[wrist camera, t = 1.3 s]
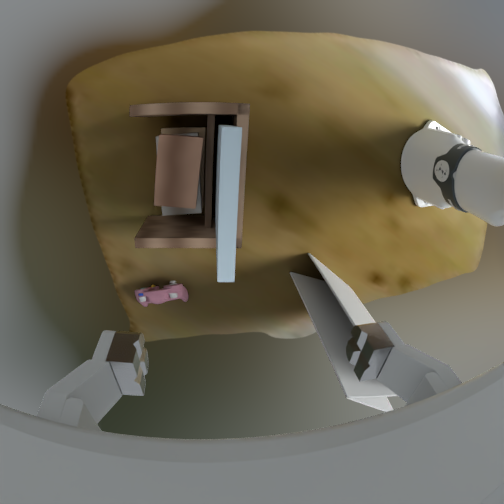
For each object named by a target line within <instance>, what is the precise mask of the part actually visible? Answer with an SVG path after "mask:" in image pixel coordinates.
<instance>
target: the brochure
mask: <svg viewBox="0 0 504 504" xmlns="http://www.w3.org/2000/svg"><path fill="white" fill-rule="evenodd" d="M308 255H309V256H310V258H311V259H312V261H313V262H314V264H315V265H316V267H317V269H318V270H319V272H320V273H321V275H322V276H323V278H324V279H325V281H323V280H319V279H316V278H312V277H308V276H304V275H301V274H297V273H293V272H290V275H291V277H292V279H293V281H294V284H295V286H296V288H297V290H298V292H299V294H300V296H301V299H302V301H303V303H304V305H305V307H306V309H307V312H308V314H309V316H310V318H311V320H312V322H313V325H314V327H315V329H316V331H317V333H318V336H319V338H320V340H321V342H322V344H323V347H324V349H325V351H326V353H327V356H328V358H329V360H330V362H331V364H332V367H333V369H334V371H335V373H336V376H337V378H338V381H339V383H340V385H341V387H342V390H343V392H344V394H345V397H346V398H348V399H350V400H353V401H356V402H358V403H361V404H364V405H367V406H370V407H373V408H376V409H379V410H382V411H385V412H388V411H391V410H393V408H392V406H391V404H390V402H389V400H388V399H387V397H388V396H398V395H396V394H395V393H394V392H393V391H391V390H390V389H389V388H387V387H386V386H385V385H383V384H382V383H381V382H379V381H378V380H377V378H376V379H371V380H366V381H361V382H359V380H358V378H357V376H356V374H355V372H354V367H355V366H354V365H353V364H351V363H349V361H348V359H347V355H346V346H347V343H348V341H349V340H350V339H351V338H352V337H353V336H352V334H351V331H352V328H353V327H354V326H355V325H361V324H369V323H376V322H375V321H374V320H373V318H372V317H371V315H370V314H369V312H368V311H367V310H366V308H365V307H364V305H363V304H362V302H361V301H360V300H359V298H358V297H357V296H356V294H355V293H354V291H353V290H352V289H351V288H350V287H349V286H348V285H347V284H346V283H345V282H343V281H342V280H341V279H340V278H339V277H337V276H336V275H335V274H334V273H333V272H332V271H330V270H329V269H328V268H327V267H326V266H324V265H323V264H322V263H321V262H320V261H318V260H317V259H316V258H315V257H313V256H312V255H311V254H310V253H308Z"/></svg>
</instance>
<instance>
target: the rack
mask: <svg viewBox="0 0 504 504" xmlns="http://www.w3.org/2000/svg"><path fill="white" fill-rule="evenodd" d="M249 112H250V104H243V103H219V102H179V103H155V104H141V105H130V115H129V117H156V116H186V115H208V120H207V143H206V174H205V215H166V216H163V215H157V216H148V217H147V219H146V220H145V222H144V223H143V225H142V227H141V228H140V230H139V232H138V233H137V235H136V237H135V238H134V239H135V248H216V223H215V215H212V173H213V146H214V124H215V116H233V117H232V126H237V127H242V139H241V156H240V174H239V193H238V213H237V234H236V248H241V245H242V227H243V209H244V192H245V175H246V158H247V142H248V127H249Z"/></svg>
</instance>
